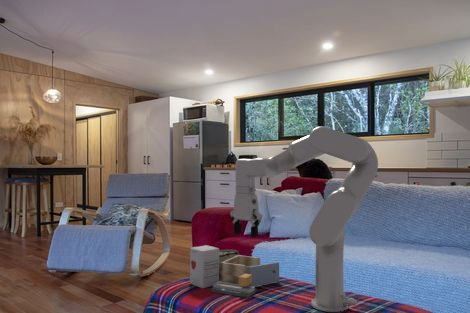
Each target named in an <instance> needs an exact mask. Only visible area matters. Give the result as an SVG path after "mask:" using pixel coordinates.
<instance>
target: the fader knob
mask: <svg viewBox="0 0 470 313" xmlns="http://www.w3.org/2000/svg"><path fill="white" fill-rule="evenodd" d="M251 283H252V274H243V275H241V276H239V285H240V286H243V288H247V286H248V285H249V284H251Z"/></svg>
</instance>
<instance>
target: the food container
mask: <svg viewBox="0 0 470 313" xmlns="http://www.w3.org/2000/svg"><path fill="white" fill-rule="evenodd" d="M237 255H240V253H239V250H236V249H221V250H220V249H219V277H220V263H221V262H223V261H226V260H228V259H230V258H232V257H235V256H237Z"/></svg>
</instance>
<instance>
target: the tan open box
mask: <svg viewBox="0 0 470 313" xmlns="http://www.w3.org/2000/svg"><path fill="white" fill-rule="evenodd" d="M257 265H261V257H257V256H247V255H241V254H239V255H237V256H235V257H232V258H230V259H228V260H226V261H223V262H221V263H220V276H219V281H220V282H227V283H233V284H239V276H241V275H243V274H246V266H248V267H251V266H257Z"/></svg>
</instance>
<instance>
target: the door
mask: <svg viewBox="0 0 470 313" xmlns="http://www.w3.org/2000/svg"><path fill="white" fill-rule="evenodd" d="M246 274H252V283H251V284H249V285H248V286H253V287H255V288H256V287H258V286H263V285H268V284H269V285H270V284H274V283H278V282H280V262H279V261H275V262H268V263H263V264H260V265H257V266H251V267H248V266H246Z"/></svg>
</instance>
